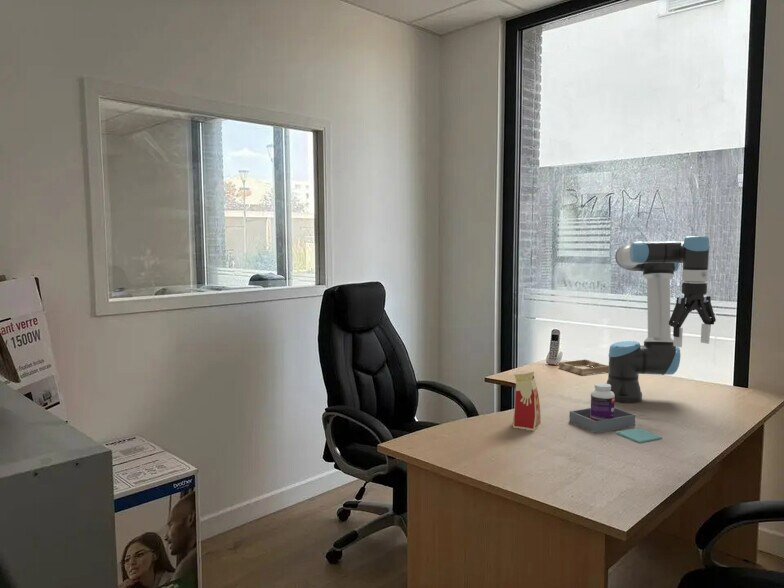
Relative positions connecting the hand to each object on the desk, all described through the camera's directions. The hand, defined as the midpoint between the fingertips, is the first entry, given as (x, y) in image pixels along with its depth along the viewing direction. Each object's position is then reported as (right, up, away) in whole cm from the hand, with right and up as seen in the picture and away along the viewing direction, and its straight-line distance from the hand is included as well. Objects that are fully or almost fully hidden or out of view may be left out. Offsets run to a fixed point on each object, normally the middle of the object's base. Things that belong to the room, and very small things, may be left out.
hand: (691, 344), depth 199 cm
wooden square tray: (-6, -21, +94) cm, 96 cm away
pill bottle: (-26, -30, +12) cm, 41 cm away
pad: (-18, -31, -1) cm, 36 cm away
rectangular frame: (-26, -30, +12) cm, 41 cm away
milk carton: (-54, -30, +11) cm, 63 cm away
